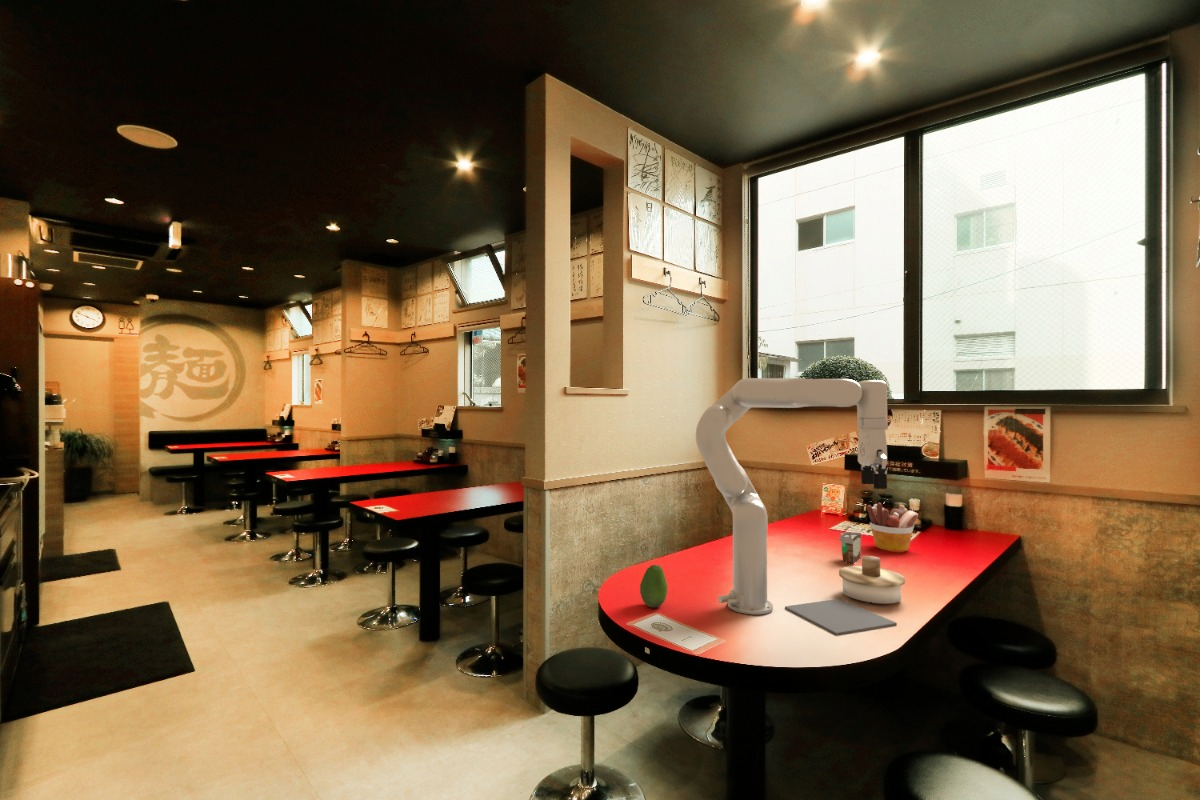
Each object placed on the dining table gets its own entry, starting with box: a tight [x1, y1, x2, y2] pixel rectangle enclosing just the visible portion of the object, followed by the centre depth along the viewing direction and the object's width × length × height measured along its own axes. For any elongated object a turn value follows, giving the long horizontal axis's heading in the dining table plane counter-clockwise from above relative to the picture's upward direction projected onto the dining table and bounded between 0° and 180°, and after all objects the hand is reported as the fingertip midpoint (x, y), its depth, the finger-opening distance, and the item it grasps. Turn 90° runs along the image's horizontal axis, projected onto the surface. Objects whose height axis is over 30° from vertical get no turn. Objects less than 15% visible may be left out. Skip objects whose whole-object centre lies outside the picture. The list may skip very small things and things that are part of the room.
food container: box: [838, 531, 862, 565], centre depth 208 cm, size 12×6×10 cm, turn 141°
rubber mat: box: [784, 598, 898, 636], centre depth 151 cm, size 20×20×1 cm
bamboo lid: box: [838, 555, 906, 587], centre depth 167 cm, size 18×18×6 cm
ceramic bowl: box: [842, 578, 902, 604], centre depth 166 cm, size 16×16×6 cm
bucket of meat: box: [866, 502, 919, 552], centre depth 226 cm, size 20×16×20 cm
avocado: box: [639, 564, 668, 608], centre depth 159 cm, size 8×8×12 cm
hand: (873, 486), depth 152 cm, fingers open, 9 cm apart
